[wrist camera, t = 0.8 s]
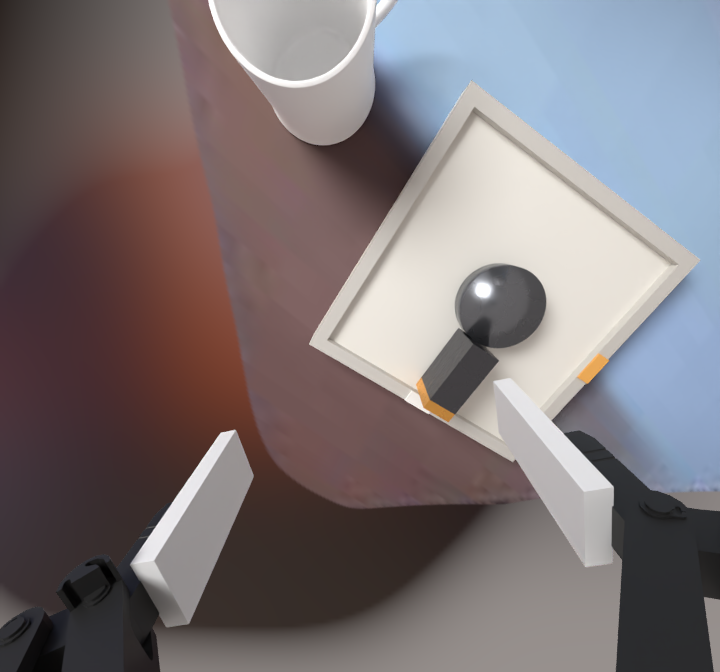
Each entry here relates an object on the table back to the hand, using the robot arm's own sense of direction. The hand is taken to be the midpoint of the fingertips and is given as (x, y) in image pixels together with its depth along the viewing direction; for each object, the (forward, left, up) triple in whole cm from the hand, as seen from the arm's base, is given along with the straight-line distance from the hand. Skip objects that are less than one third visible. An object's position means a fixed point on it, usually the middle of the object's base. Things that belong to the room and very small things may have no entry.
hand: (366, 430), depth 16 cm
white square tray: (-8, +8, -18) cm, 22 cm away
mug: (-16, -13, -19) cm, 28 cm away
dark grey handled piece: (-5, +8, -16) cm, 19 cm away
